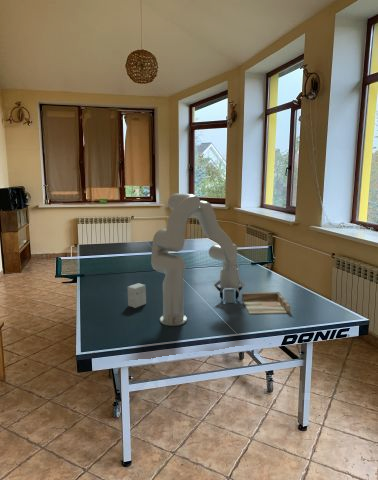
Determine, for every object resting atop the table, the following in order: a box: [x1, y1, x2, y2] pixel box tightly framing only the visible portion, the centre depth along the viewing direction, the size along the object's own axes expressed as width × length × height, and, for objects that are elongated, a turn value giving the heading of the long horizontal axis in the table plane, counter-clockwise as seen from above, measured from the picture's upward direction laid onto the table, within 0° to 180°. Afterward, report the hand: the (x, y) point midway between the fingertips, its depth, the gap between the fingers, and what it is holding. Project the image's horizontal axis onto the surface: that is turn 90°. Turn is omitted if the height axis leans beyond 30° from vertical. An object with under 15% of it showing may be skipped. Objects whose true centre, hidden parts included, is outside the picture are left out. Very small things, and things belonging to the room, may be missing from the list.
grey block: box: [223, 288, 236, 304], centre depth 202 cm, size 7×4×6 cm, turn 2°
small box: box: [126, 282, 147, 309], centre depth 196 cm, size 8×6×10 cm
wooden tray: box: [241, 291, 291, 315], centre depth 193 cm, size 20×20×4 cm
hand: (229, 298), depth 202 cm, fingers open, 7 cm apart
